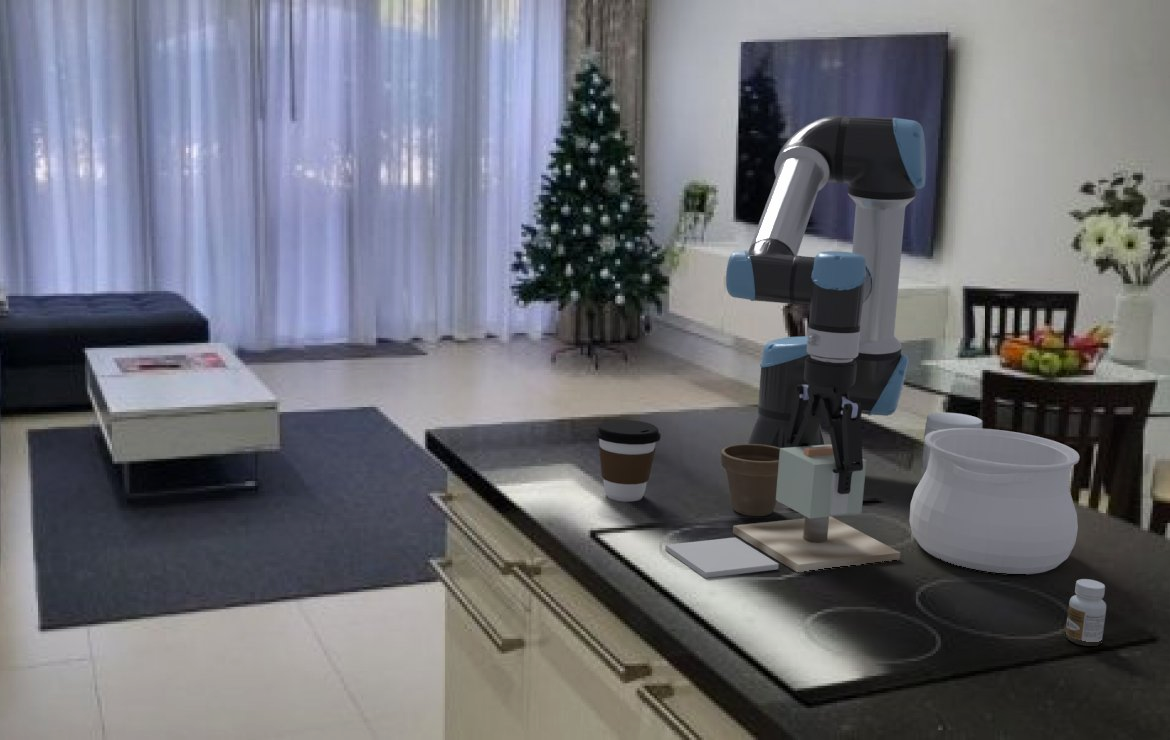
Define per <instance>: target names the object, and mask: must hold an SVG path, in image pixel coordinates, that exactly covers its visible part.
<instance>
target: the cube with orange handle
mask: <svg viewBox="0 0 1170 740" xmlns="http://www.w3.org/2000/svg"><path fill="white" fill-rule="evenodd" d="M854 463H855V462H854ZM843 464H844V462H843ZM834 469H836V464H835V458H834V453H833V448H832V443H831V444H824V445H815V446H802V447H790V448H780V454H779V466H778V478H777V490H776V500H777V502H779V503H780V504H783V505H785V506H786V507H788V508H790V509H791V510H793V511H795V512H797V513H799V514H801V515H802V516H804V517H805V516H806V517H808V518H810V519H811V518H821V517H830V516H831V517H838V516H847V515H848V516H849V515H857V514H862V510H863V501H864V490H865V482H866V481H865V480H866V469H867V459H865V458H863V469H862V470H861V471H854V472H853V473H852V478H851V488H850V493H849V495H848V505H847V513H844V514H834V515H831V514H829V504H830V493H831V482H832V471H833V470H834Z"/></svg>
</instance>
